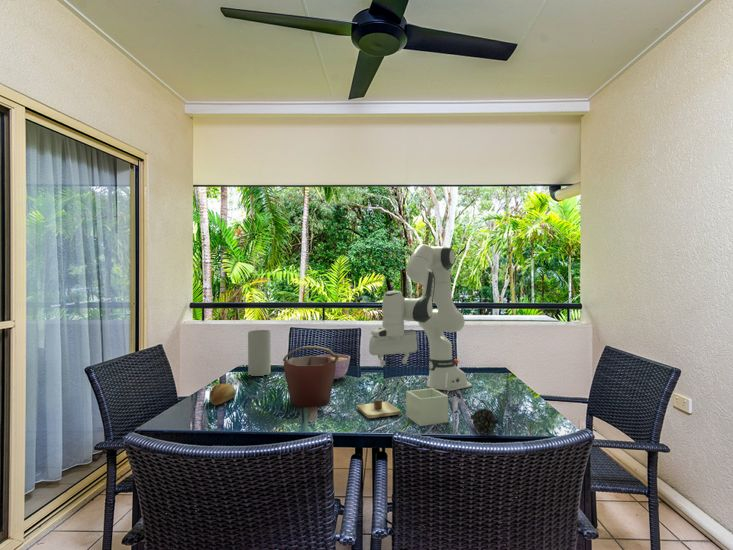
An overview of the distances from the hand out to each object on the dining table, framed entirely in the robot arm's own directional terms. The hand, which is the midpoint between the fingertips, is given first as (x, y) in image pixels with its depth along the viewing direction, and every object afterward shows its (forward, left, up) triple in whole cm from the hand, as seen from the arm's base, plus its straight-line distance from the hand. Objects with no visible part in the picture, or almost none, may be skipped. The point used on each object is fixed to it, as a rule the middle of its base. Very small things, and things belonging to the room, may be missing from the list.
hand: (393, 364), depth 167 cm
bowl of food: (+8, -67, -20) cm, 71 cm away
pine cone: (-23, +27, -21) cm, 41 cm away
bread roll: (+65, -44, -21) cm, 81 cm away
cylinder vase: (+45, -91, -20) cm, 103 cm away
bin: (-9, +10, -20) cm, 24 cm away
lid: (+5, -4, -19) cm, 21 cm away
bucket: (+29, -28, -20) cm, 45 cm away
